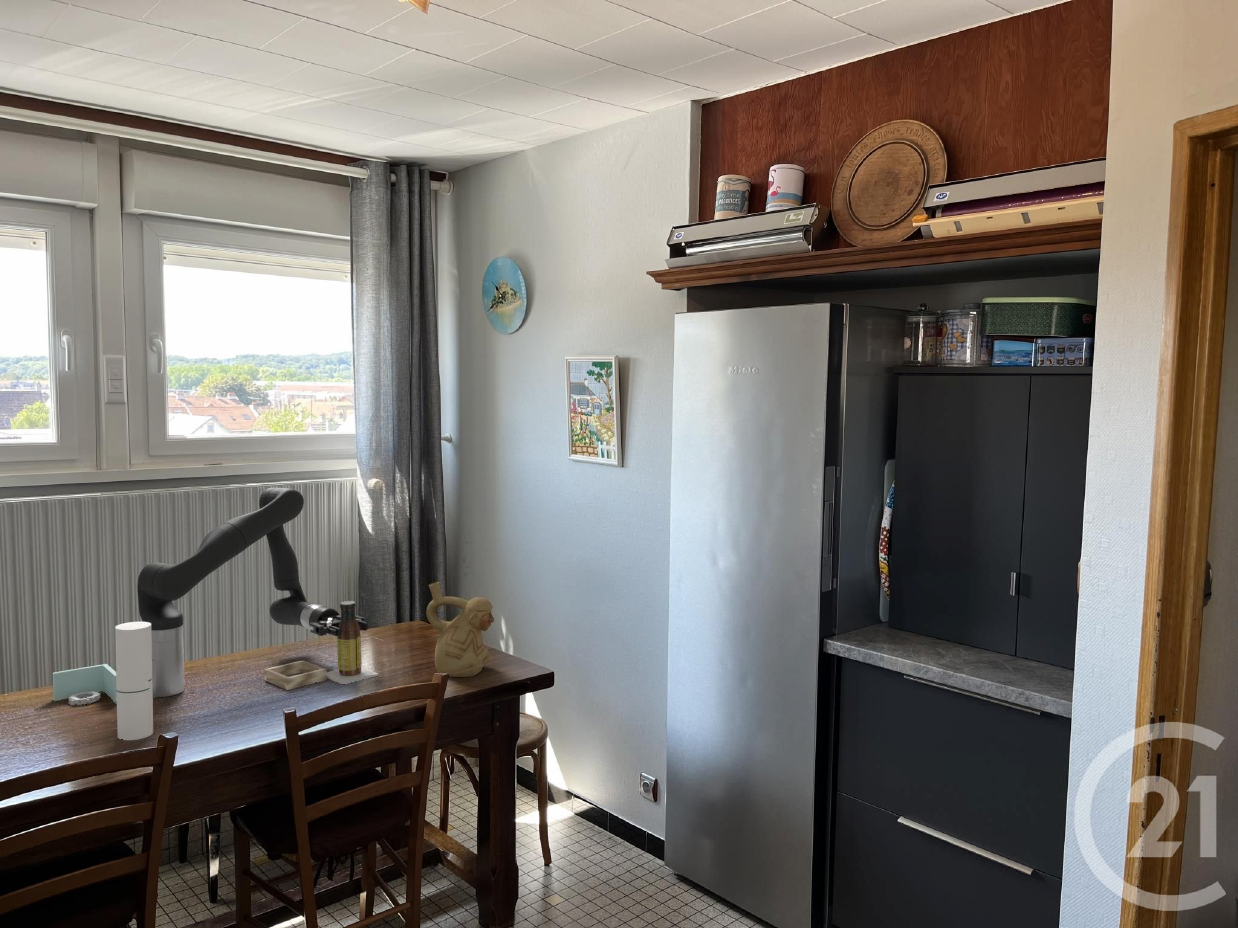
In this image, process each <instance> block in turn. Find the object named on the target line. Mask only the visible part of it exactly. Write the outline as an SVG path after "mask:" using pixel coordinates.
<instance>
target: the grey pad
mask: <svg viewBox="0 0 1238 928" xmlns="http://www.w3.org/2000/svg"><path fill="white" fill-rule="evenodd" d="M378 676H379V673H378V672H375V671H372V670H370V669H367V668H364V667H362V666H361V672H360V673H359V674H356V675H350V676H346V675H341V674H340V673H339V669H334V670H329V671H326V680H329V679H330V681H332V682H335V683H337V682H338V683H337V684H340V685H342V684H345V685H349V684H352V683H356V682H359V681H363V680H362V679H364V680H367V679H370V678H374V677H378ZM355 681H356V682H355ZM351 682H352V683H351Z"/></svg>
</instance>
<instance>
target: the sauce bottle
mask: <svg viewBox="0 0 1238 928" xmlns="http://www.w3.org/2000/svg"><path fill="white" fill-rule="evenodd" d="M356 605H357V604H356V601H355V600H346V601H341V602H340V603H339V608H340V616H341V621H340V625H339V628H340V636H339V637H337V636H336V644H337V668H338V669H339V673H340V674H341V675H346V676H350V675H356V674H359V673H360V672H361V667H362V665H363V664H362V642H361V641H362V638H361V637H362V636H361V630H360V626H359V624H358V622H357V620H356V619H355V615H356Z"/></svg>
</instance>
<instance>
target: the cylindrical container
mask: <svg viewBox="0 0 1238 928" xmlns="http://www.w3.org/2000/svg"><path fill="white" fill-rule="evenodd" d="M114 630H115V631H114V633H115V672H116V687H117V703H116V717H117V720H116V721H117V722H116V723H117V724H116V725H117V726H116V728H117V739H119V740H121V739H123V740H122V741H137V740H143V739H145V738H148V737H150V736H152V735H153V733H154V706H153V705H154V701H153V700H154V698H153V692H152V640H151V623H149V622H143V621H130V622H125V623H120V624H117V625H115V627H114Z"/></svg>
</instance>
